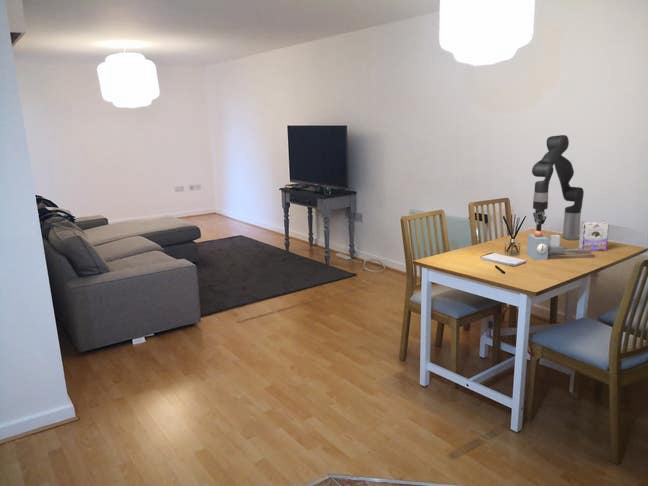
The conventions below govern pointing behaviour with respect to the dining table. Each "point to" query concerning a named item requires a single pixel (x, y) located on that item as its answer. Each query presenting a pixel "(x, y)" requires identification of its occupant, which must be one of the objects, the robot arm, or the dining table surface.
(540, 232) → the button
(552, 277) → the dining table surface
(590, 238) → the candy box
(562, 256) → the rail track
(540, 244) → the end cabinet
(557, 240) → the carriage
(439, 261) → the dining table surface
